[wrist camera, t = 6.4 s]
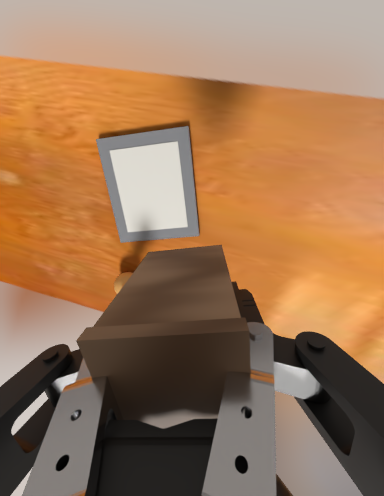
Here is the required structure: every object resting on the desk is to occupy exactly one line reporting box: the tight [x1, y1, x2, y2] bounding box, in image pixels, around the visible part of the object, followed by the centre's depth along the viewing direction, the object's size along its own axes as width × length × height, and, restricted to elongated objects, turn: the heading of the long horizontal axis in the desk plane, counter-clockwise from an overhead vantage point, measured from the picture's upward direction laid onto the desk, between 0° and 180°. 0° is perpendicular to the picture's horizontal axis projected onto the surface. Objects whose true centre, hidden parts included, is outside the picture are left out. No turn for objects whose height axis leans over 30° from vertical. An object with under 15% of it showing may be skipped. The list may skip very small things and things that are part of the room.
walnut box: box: [77, 245, 251, 428], centre depth 9 cm, size 5×6×7 cm
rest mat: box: [96, 126, 199, 242], centre depth 27 cm, size 12×14×1 cm
